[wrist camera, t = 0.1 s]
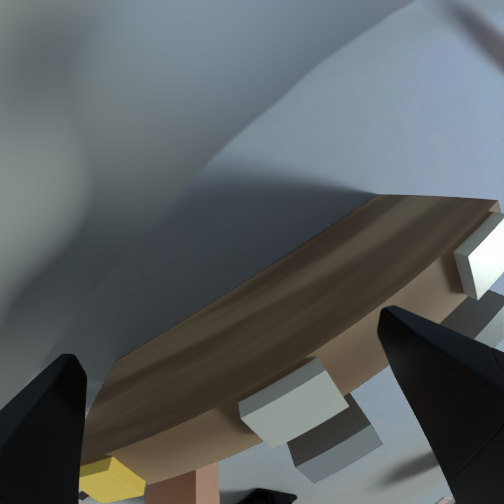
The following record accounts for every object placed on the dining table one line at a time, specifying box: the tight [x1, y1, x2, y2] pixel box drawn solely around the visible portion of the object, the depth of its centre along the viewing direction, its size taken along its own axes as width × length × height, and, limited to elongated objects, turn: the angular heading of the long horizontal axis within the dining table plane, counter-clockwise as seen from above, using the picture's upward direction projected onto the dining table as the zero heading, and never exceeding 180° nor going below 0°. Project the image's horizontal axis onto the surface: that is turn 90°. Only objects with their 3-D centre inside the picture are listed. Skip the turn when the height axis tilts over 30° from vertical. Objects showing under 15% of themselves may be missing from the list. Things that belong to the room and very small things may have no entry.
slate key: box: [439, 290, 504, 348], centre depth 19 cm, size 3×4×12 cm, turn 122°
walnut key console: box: [79, 194, 504, 503], centre depth 18 cm, size 10×27×14 cm, turn 122°
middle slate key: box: [287, 393, 383, 483], centre depth 19 cm, size 3×4×12 cm, turn 122°
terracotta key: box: [145, 462, 220, 504], centre depth 19 cm, size 3×4×12 cm, turn 122°
